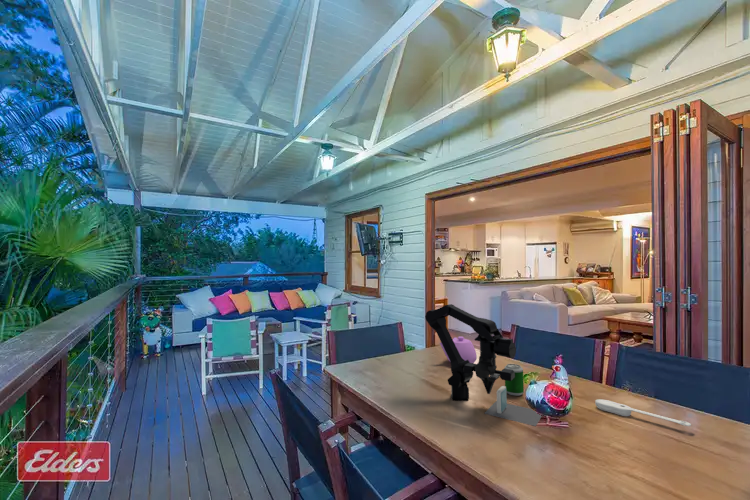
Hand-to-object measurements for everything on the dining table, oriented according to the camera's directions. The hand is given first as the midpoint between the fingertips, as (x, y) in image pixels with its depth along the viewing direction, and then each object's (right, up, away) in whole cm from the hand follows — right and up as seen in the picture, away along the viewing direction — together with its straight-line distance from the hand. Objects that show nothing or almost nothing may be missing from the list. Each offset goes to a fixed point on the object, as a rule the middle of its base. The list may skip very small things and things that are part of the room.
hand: (488, 393), depth 137 cm
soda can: (+15, -6, +14) cm, 22 cm away
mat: (+8, -5, -6) cm, 11 cm away
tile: (+4, -5, -3) cm, 7 cm away
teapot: (+1, -8, +60) cm, 60 cm away
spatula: (+50, -5, -11) cm, 52 cm away
